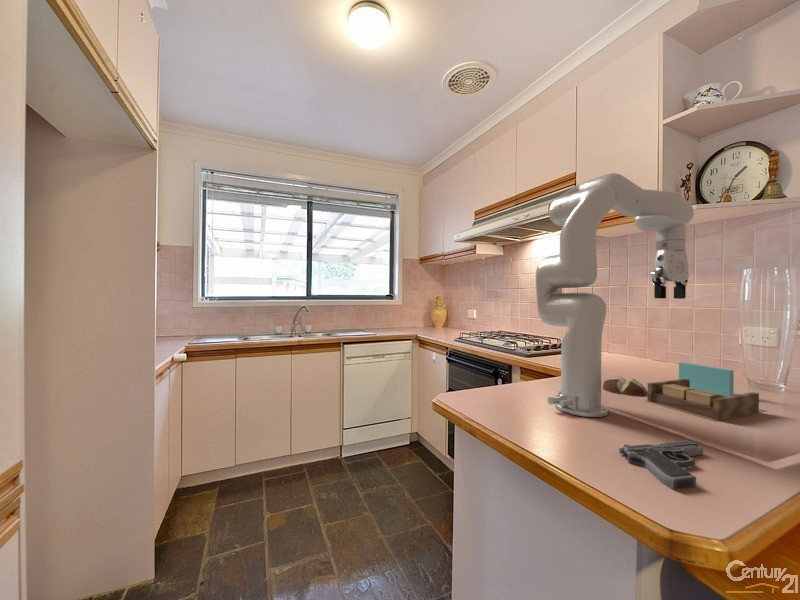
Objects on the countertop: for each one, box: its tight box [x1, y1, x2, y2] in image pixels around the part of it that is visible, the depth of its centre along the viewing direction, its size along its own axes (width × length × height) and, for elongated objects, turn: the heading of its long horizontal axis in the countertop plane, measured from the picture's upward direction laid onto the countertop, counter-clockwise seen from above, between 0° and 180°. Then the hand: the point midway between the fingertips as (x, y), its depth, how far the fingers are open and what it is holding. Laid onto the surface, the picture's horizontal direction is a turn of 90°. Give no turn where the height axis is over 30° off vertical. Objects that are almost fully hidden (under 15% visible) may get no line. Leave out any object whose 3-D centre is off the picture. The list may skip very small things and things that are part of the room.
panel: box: [678, 361, 735, 396], centre depth 102 cm, size 2×9×13 cm
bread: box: [602, 376, 648, 397], centre depth 102 cm, size 11×11×5 cm
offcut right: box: [686, 389, 720, 407], centre depth 83 cm, size 4×5×5 cm
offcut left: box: [663, 384, 693, 400], centre depth 88 cm, size 4×5×5 cm
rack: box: [645, 378, 767, 423], centre depth 88 cm, size 22×16×6 cm
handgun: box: [618, 440, 704, 491], centre depth 58 cm, size 2×17×12 cm
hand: (669, 298), depth 107 cm, fingers open, 9 cm apart
